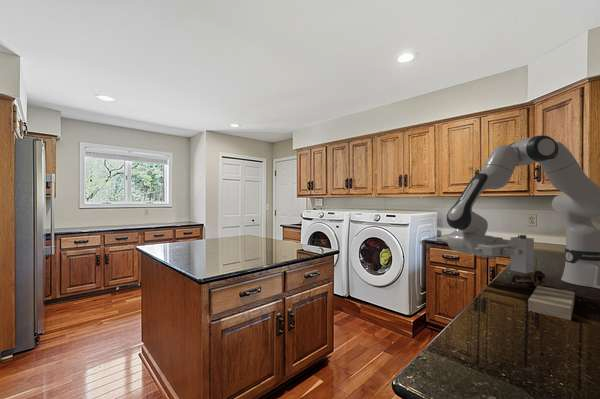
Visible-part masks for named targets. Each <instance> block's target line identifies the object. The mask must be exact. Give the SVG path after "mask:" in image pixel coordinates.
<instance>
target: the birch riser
mask: <svg viewBox="0 0 600 399" xmlns="http://www.w3.org/2000/svg"><path fill="white" fill-rule="evenodd" d="M574 306H575V291H570V290H566V289H559V288H555V287H554V288H552V287H546V286H542V287H541V286H537V288H536V287H535V289H534V290H533V293H532V294H531V295H530V296H529V298H528V300H527V307H528V308H527V310H528V312H530V311H532V312H531V313H535V312H536V313H537V314H541V315H544V316H549V317H554V318H559V319H562V320H568V321H572V316H573V311H574ZM536 313H535V314H536Z"/></svg>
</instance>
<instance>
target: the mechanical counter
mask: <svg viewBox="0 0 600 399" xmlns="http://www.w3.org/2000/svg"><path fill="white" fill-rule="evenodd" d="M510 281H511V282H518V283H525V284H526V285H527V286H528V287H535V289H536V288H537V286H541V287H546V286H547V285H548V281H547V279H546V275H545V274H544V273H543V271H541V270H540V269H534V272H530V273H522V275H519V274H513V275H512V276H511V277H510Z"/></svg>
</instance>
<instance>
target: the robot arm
mask: <svg viewBox="0 0 600 399" xmlns="http://www.w3.org/2000/svg"><path fill="white" fill-rule="evenodd" d="M534 163H538V164H539V165H540V166H541V168H542V170H543V172H544V173H545V174H544V175H546V177H547V179H548V180H549V182H550V183H551V185H552V187H554V188H555V189H556V190H559V191H561V192H562V193H561V194H558V195H556V196H555V197H554V198H553V199H552V201H551V208H552V210H553V211H554V212H555V213H556V214H557V215H558V217H560V220H561V221H562V223H563V226H564V231H565V244H566V245H565V248H564V259H565V261H564V262H565V265H564V268H563V269H564V270H563V273H562V275H561V279H560V280H561V281H563V282H565V283H569V284H573V285H576V286H583V287H589V288H594V289H600V230H599V229H598V228H597V227H596V226H595V225H594V223H593V222H592V219H600V186H599V185H598V184H597V183H595V182H594V181H593V180H591V178H589V177H588V175H587V174H586V173H585V172H584V170H583V169H582V167H581V166H580V164H579V162H578V161H577V159H576V158H575V156H574V154H572V152H571V151H570V150H569V148H568V147H566V146H565V145H564V144H563V143H562V142H560V141H555V139H554V138H552V137H551V136H549V135H543V134H541V135H535V136H532V137H527V138H524V139H523V138H522V139H520V140H519V141H516V142H513V143H510V144H500V145H498V146H496V147H495V148H494V149H493V150H492V152H491V153H490V155H489V156H488V158H487V159H486V161H485V163H484V165H483V167H482V169H481V170H480V172H479V173H477V174H475V175H473V177H472V178H471V179H470V180H469V182H468V183H467V185H466V186H465V188H464V190H463V191H462V193H461V194H460V196H459V197H458V199H457V201H456V202H455V204H454V205H453V206H451V207H450V209H449V210H448V211H447V213H446V223H447V224H448V226H450V227H451V229H455V230H454V231H452V232H451V233H449V234H448V235H447V238H446V242H447V245H448V247H449V248H450V250H452V251H454V252H457V253H462V254H464V255H465V254H466V255H474V256H477V257H480V258H487V259H491V258H493V257H500V256H502V257H503V256H509V255H520V254H521V251H520V250H516V249H515V250H514V249H511V239H510V240H509V239H504V238H503V237H497V236H492V235H486V233H487V231H488V227H489V226H488V221H487V220H486V219H485V217H483V216H481V215H480V214H478V213H476V212H474V211H473V206H474V204H475V203H476V201H478V200H477V199H479V196H480V195H481V194H482V193H483V191H486V190H498V189H502V188H504V187H506V186H507V184H508V183H509V182H510V180H511V178H512V177H513V174H514V173H515V169H516V167H517V166H518V167H519V166H520V167H521V166H528V165H532V164H534Z"/></svg>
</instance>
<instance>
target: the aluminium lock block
mask: <svg viewBox="0 0 600 399" xmlns="http://www.w3.org/2000/svg"><path fill="white" fill-rule="evenodd" d="M510 241H511V249H514V250H515V249H516V250H520V251H521V254H520V255H510V256H509V257H510V262H509V263H510V266H509V267H510V269H509V271H512V272H513V271H514V272H517V273H521V274H524V273H530V272H534V270H535V269H534V268H535V263H534V262H535V258H534V257H535V253H534V252H535V244H534V243H535V242H534V241H535V238H533V237H527V234H517V236H515V237H514V236H513V237H512V236H511V237H510Z"/></svg>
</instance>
